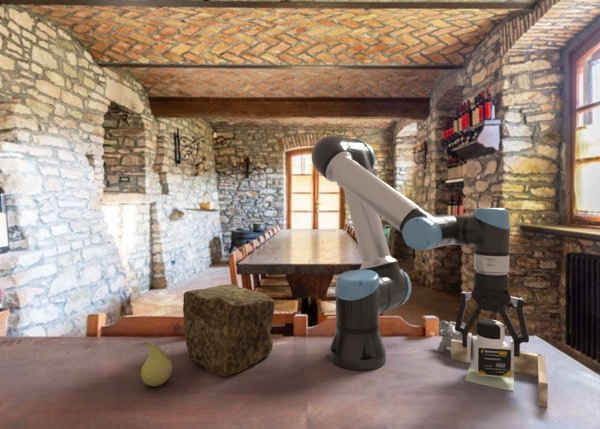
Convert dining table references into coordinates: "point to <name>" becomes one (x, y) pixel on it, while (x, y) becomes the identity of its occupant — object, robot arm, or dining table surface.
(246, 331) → the decorative stone
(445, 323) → the elephant statuette
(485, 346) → the medicine bottle
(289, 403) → the dining table surface
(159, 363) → the fruit
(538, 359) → the corner arena
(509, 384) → the pad
